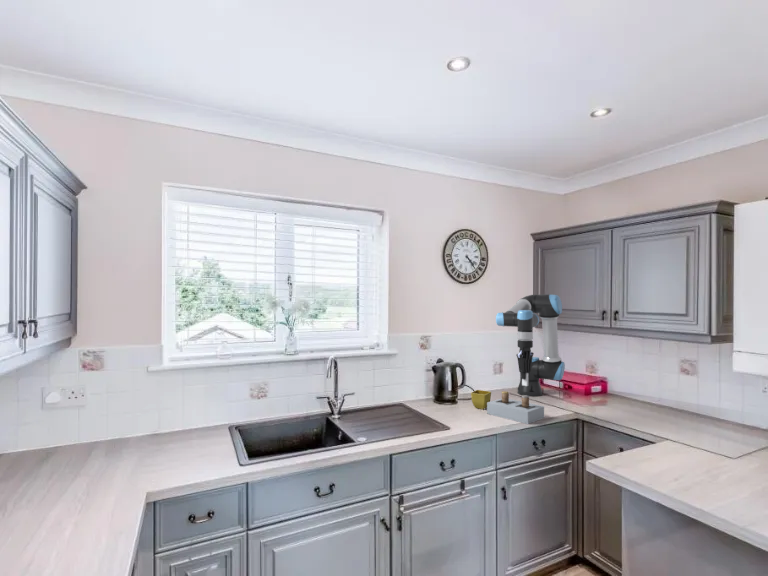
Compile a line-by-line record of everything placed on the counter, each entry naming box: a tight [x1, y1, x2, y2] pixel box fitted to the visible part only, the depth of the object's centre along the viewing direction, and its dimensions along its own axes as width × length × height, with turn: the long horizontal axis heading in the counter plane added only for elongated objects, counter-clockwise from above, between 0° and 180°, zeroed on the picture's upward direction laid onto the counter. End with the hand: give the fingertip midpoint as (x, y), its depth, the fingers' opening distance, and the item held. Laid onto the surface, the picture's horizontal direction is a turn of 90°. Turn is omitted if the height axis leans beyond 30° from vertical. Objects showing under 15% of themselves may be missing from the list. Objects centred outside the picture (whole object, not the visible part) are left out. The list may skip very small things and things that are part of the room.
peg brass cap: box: [501, 390, 510, 404], centre depth 228 cm, size 4×4×6 cm
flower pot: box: [470, 389, 492, 410], centre depth 239 cm, size 9×9×9 cm
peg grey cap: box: [521, 395, 530, 408], centre depth 219 cm, size 4×4×6 cm
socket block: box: [486, 397, 545, 425], centre depth 224 cm, size 16×24×6 cm, turn 41°
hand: (525, 385), depth 219 cm, fingers closed
